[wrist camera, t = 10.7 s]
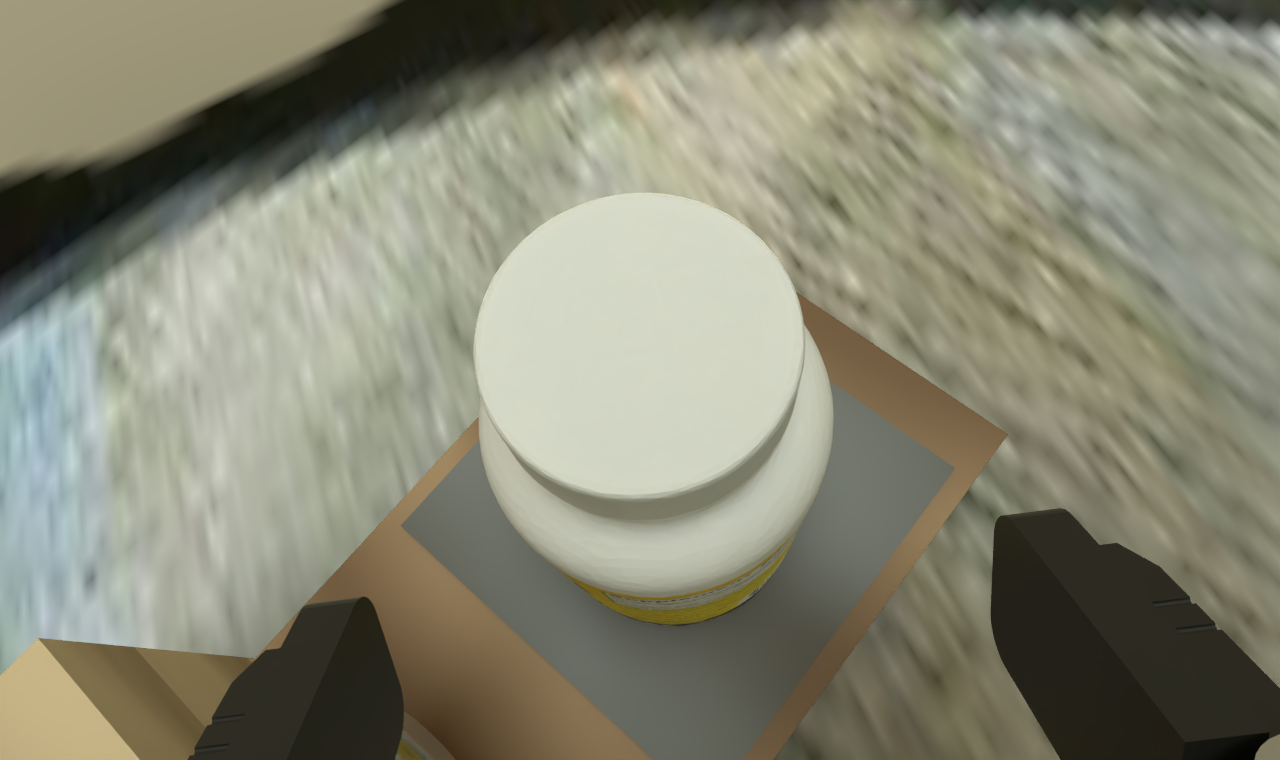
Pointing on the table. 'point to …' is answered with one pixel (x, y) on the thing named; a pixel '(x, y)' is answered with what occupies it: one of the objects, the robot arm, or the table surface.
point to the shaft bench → (570, 611)
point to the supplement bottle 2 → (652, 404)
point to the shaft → (419, 743)
